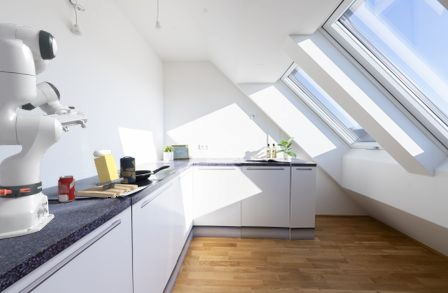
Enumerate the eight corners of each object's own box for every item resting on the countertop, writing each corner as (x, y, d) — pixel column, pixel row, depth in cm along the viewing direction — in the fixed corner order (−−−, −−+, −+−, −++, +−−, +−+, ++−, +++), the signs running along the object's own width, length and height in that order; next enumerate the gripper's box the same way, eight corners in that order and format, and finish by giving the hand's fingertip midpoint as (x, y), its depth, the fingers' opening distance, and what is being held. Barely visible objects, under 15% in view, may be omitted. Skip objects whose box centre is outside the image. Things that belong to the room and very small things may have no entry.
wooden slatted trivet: (113, 197, 119) (113, 189, 119) (76, 195, 124) (76, 187, 123) (137, 188, 141) (137, 181, 141) (105, 186, 145) (105, 180, 145)
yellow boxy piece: (112, 182, 126) (103, 148, 126) (95, 186, 128) (87, 153, 128) (123, 179, 136) (115, 147, 136) (108, 183, 138) (100, 151, 138)
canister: (132, 184, 153) (131, 156, 152) (117, 184, 153) (117, 156, 152) (137, 181, 163) (137, 155, 162) (124, 181, 163) (123, 155, 162)
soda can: (67, 203, 109) (66, 177, 109) (54, 202, 111) (54, 177, 110) (78, 199, 116) (78, 175, 115) (67, 199, 117) (66, 175, 117)
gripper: (38, 111, 115) (56, 127, 112) (78, 106, 133) (94, 120, 130) (37, 121, 118) (54, 138, 115) (76, 115, 135) (92, 129, 133)
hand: (76, 128), depth 123 cm, fingers open, 8 cm apart
